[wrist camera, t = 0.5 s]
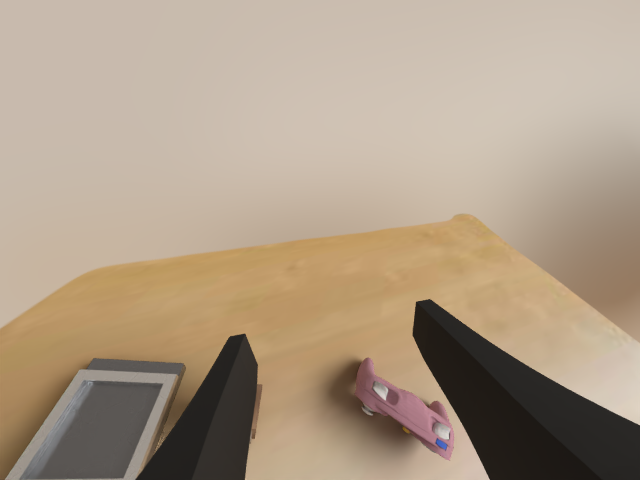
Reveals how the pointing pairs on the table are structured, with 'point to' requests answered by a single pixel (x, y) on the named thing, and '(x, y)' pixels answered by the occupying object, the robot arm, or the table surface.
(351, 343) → the table surface
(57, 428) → the grey holder base
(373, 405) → the video game controller
